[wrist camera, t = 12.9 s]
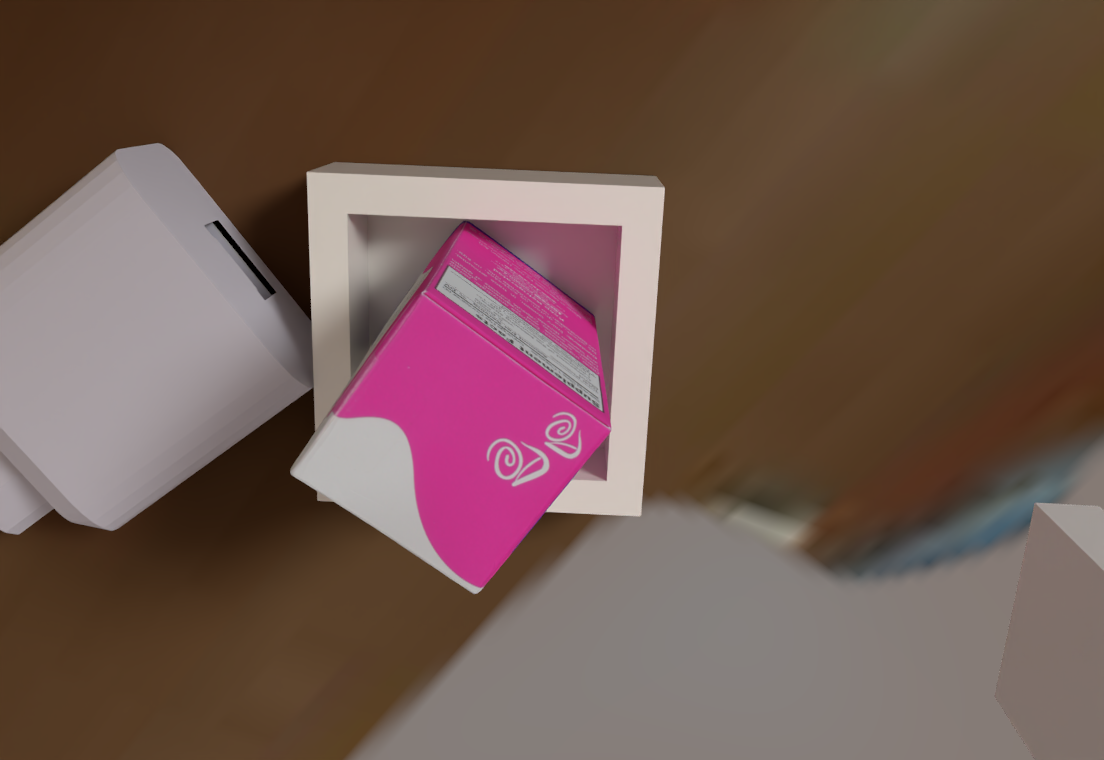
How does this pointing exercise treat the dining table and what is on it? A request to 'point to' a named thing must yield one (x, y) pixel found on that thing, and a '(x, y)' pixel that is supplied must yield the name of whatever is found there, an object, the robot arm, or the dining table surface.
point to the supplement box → (465, 411)
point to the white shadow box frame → (529, 233)
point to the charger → (133, 344)
